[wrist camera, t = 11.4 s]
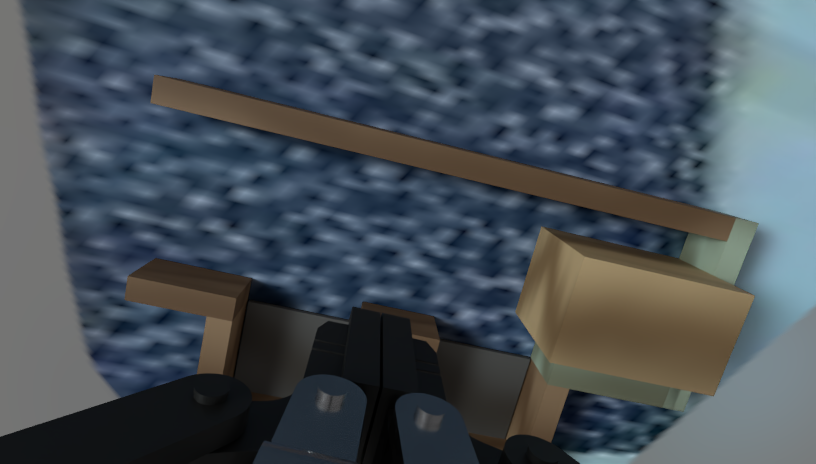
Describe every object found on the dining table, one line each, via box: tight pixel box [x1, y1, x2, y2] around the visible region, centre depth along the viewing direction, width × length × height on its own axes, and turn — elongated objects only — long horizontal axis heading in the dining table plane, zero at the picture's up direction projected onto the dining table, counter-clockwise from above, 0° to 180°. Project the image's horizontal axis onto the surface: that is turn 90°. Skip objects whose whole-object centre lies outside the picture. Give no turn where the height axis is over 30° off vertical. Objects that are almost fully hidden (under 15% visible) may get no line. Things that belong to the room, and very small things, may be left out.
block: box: [516, 227, 755, 396], centre depth 25 cm, size 5×8×6 cm, turn 76°
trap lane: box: [125, 75, 759, 450], centre depth 26 cm, size 17×29×3 cm, turn 76°
